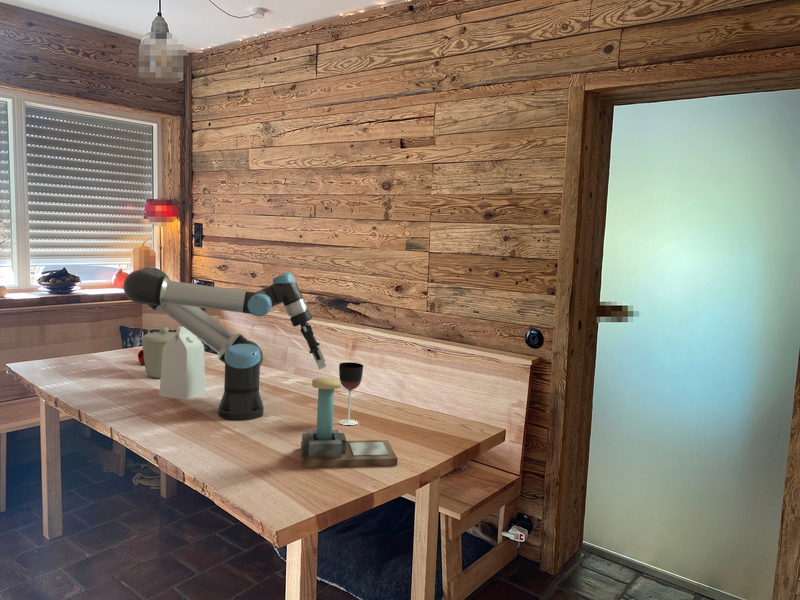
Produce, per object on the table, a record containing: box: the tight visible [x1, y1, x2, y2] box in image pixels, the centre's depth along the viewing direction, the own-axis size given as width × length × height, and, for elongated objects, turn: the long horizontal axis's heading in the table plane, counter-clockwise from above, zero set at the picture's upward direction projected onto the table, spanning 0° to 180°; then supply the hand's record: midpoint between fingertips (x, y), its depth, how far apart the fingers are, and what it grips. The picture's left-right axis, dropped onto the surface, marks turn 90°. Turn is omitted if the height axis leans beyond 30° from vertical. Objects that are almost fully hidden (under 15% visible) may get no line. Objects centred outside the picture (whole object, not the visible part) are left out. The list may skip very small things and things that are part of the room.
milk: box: [158, 325, 206, 401], centre depth 221 cm, size 12×12×26 cm
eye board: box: [300, 429, 399, 469], centre depth 167 cm, size 26×15×6 cm, turn 102°
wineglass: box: [338, 361, 364, 425], centre depth 198 cm, size 8×9×20 cm
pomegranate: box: [137, 349, 145, 366], centre depth 267 cm, size 10×10×9 cm
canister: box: [140, 326, 176, 379], centre depth 247 cm, size 18×18×21 cm
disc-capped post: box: [311, 377, 342, 440], centre depth 165 cm, size 8×8×20 cm
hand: (322, 365), depth 216 cm, fingers open, 13 cm apart
